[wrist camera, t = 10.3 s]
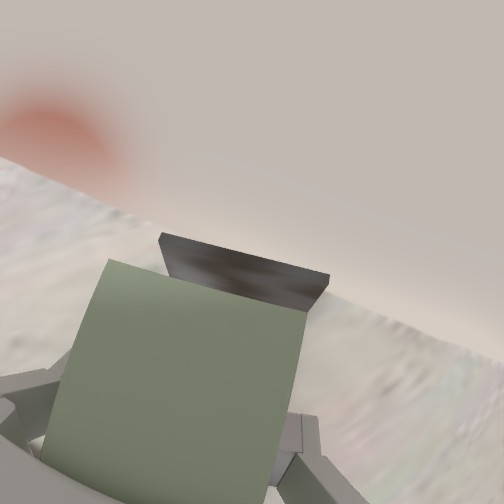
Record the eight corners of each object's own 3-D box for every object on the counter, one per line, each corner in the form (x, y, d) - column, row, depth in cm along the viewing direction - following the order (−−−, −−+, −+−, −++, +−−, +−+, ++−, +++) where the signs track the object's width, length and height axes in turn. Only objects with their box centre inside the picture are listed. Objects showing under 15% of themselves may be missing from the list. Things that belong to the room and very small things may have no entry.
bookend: (292, 336, 32) (347, 268, 18) (237, 550, 20) (251, 637, 7) (180, 307, 33) (151, 218, 19) (119, 516, 21) (45, 573, 7)
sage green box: (253, 379, 17) (307, 312, 7) (227, 477, 14) (239, 577, 4) (176, 358, 17) (108, 259, 7) (147, 454, 14) (32, 499, 4)
